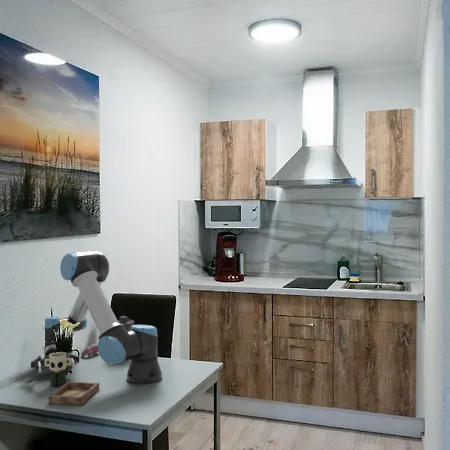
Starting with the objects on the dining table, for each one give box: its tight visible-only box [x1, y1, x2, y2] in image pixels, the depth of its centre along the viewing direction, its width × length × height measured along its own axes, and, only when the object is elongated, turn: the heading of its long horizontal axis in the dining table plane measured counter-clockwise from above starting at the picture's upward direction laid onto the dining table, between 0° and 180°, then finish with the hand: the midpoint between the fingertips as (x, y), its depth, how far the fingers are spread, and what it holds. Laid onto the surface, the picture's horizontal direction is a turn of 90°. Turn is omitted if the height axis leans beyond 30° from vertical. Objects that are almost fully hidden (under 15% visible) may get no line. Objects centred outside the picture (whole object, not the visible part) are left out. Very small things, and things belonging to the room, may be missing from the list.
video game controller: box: [80, 343, 99, 358], centre depth 268 cm, size 10×5×7 cm, turn 149°
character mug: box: [44, 351, 72, 387], centre depth 224 cm, size 11×7×13 cm, turn 96°
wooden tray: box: [48, 381, 100, 407], centre depth 209 cm, size 13×17×3 cm
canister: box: [117, 315, 135, 331], centre depth 266 cm, size 11×10×20 cm
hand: (57, 367), depth 224 cm, fingers open, 13 cm apart
